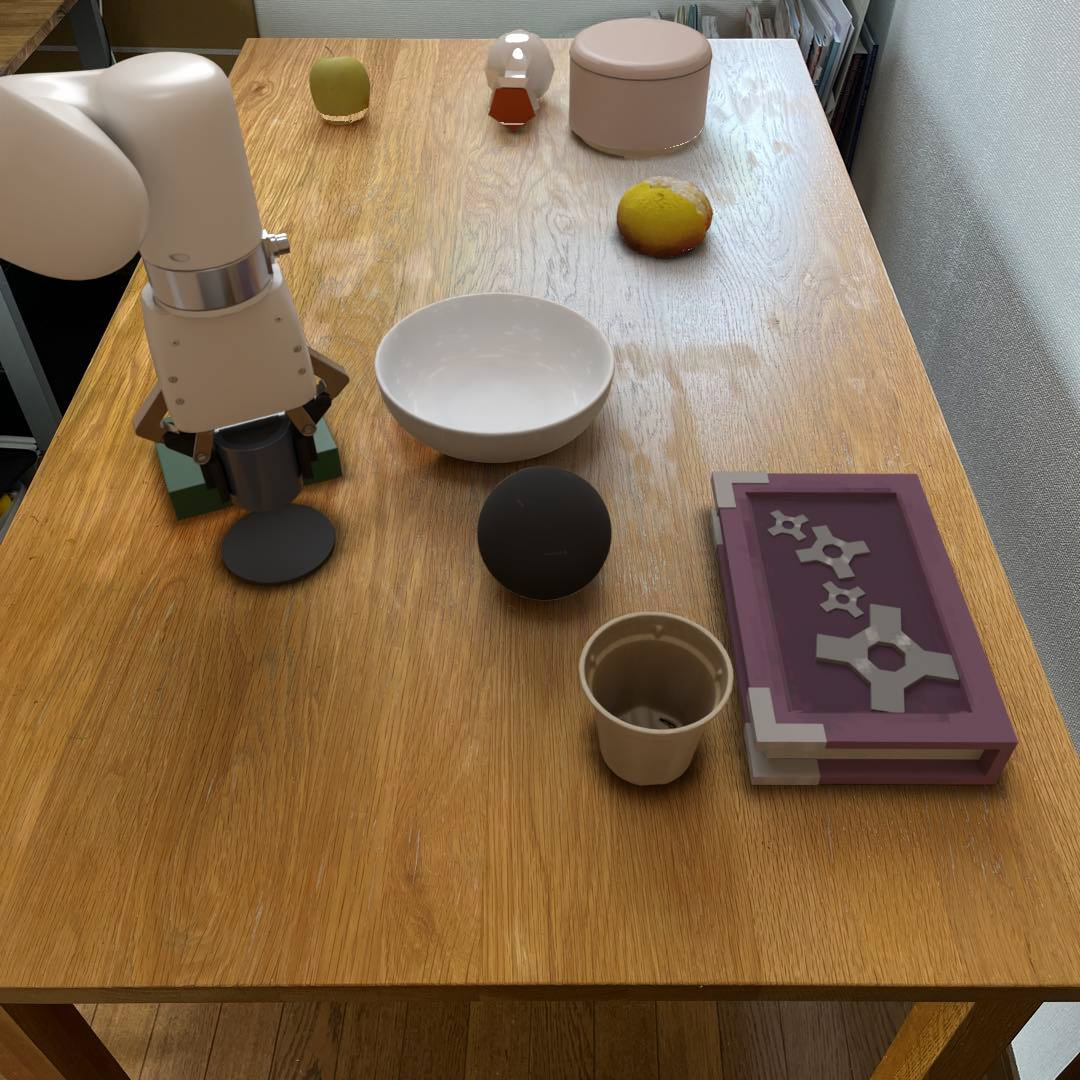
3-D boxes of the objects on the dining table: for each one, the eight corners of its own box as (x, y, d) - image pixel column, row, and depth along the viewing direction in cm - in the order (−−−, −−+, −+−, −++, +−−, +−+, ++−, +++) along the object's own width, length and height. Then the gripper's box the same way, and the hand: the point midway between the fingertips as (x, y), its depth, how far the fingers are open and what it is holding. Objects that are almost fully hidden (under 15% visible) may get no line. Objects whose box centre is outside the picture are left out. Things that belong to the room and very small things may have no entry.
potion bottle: (532, 96, 150) (523, 153, 141) (475, 56, 146) (462, 112, 137) (570, 45, 144) (563, 102, 135) (512, 2, 140) (500, 57, 131)
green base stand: (177, 521, 86) (162, 475, 82) (158, 449, 92) (142, 404, 89) (343, 476, 89) (334, 430, 86) (313, 410, 96) (304, 365, 92)
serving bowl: (432, 524, 85) (425, 460, 80) (352, 385, 99) (342, 323, 94) (653, 453, 91) (659, 390, 87) (550, 332, 105) (550, 271, 100)
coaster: (234, 599, 79) (233, 596, 79) (212, 524, 85) (210, 521, 85) (349, 565, 82) (348, 562, 82) (319, 495, 88) (318, 491, 88)
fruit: (734, 243, 117) (726, 183, 110) (655, 288, 116) (642, 230, 109) (681, 198, 124) (671, 140, 117) (606, 241, 123) (592, 184, 116)
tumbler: (237, 520, 77) (218, 458, 72) (222, 474, 80) (203, 412, 76) (311, 499, 78) (297, 437, 74) (293, 455, 82) (279, 393, 78)
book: (705, 516, 86) (712, 471, 82) (901, 517, 86) (917, 471, 82) (746, 785, 68) (757, 741, 64) (994, 786, 68) (1019, 742, 64)
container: (554, 154, 134) (555, 60, 125) (582, 99, 146) (585, 10, 138) (694, 168, 131) (704, 72, 122) (711, 110, 143) (721, 20, 135)
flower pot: (702, 827, 66) (718, 750, 60) (559, 789, 68) (560, 710, 62) (727, 710, 72) (744, 629, 66) (596, 679, 74) (600, 597, 68)
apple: (360, 129, 137) (331, 49, 131) (315, 136, 141) (284, 59, 135) (392, 106, 142) (365, 29, 136) (347, 114, 146) (319, 40, 140)
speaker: (547, 649, 76) (548, 554, 69) (453, 581, 81) (444, 485, 74) (635, 576, 81) (643, 480, 74) (541, 516, 86) (540, 420, 79)
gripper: (325, 213, 71) (359, 422, 84) (61, 267, 66) (140, 480, 79) (356, 265, 66) (388, 479, 79) (74, 328, 61) (156, 544, 74)
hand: (263, 478), depth 79 cm, fingers closed on tumbler, 5 cm apart
